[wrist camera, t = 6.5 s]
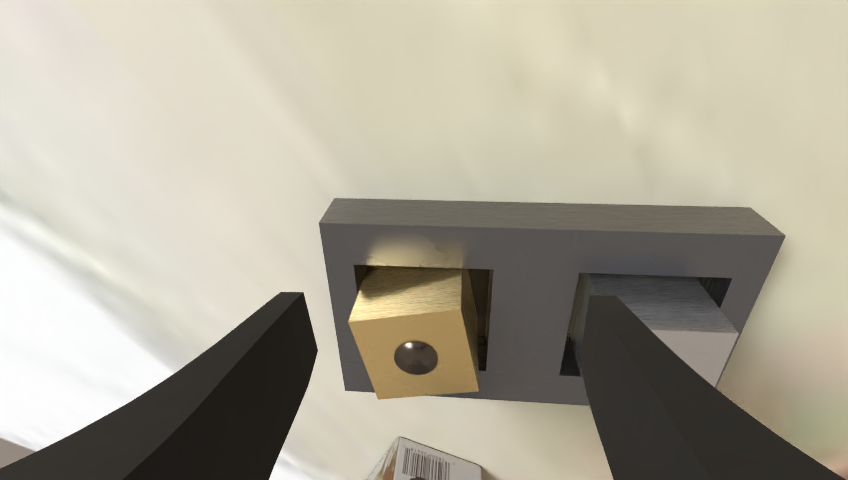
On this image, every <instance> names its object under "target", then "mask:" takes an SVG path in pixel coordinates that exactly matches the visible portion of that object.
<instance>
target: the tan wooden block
mask: <svg viewBox="0 0 848 480" xmlns="http://www.w3.org/2000/svg"><path fill="white" fill-rule="evenodd" d="M348 323H349V326H350V328H351V331H352V333H353V336H354V338H355V341H356V344H357V346H358V349H359V351H360V354H361V357H362V359H363V362H364V364H365V367H366V369H367V372H368V375H369V377H370V380H371V382H372V385H373V387H374V390H375V393H376V395H377V398H378V399H389V398H402V397H414V396H427V395H440V394H452V393H465V392H478V391H479V369H478V329H477V313H476V308H475V303H474V298H473V293H472V288H471V283H470V278H469V273H468V269H464V268H436V267H408V266H380V265H368V268H367V270H366V273H365V276H364V279H363V282H362V284H361V287H360V290H359V293H358V296H357V298H356V301H355V304H354V307H353V310H352V312H351V315H350V318H349V321H348Z"/></svg>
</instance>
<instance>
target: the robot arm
mask: <svg viewBox="0 0 848 480" xmlns="http://www.w3.org/2000/svg"><path fill="white" fill-rule="evenodd" d="M317 351H318V349H317V345H316V341H315V337H314V333H313V329H312V325H311V321H310V317H309V313H308V309H307V305H306V301H305V297H304V293H303V292H281V293H279V294H278V295H276V296H275V297H274V298H272V299H271V300H270V301H269V302H267V303H266V304H265V305H264V306H262V307H261V308H260V309H259V310H257V311H256V312H255V313H254V314H252V315H251V316H250V317H249V318H247V319H246V320H245V321H244V322H242V323H241V324H240V325H239V326H237V327H236V328H235V329H234V330H232V331H231V332H230V333H229V334H227V335H226V336H225V337H224V338H222V339H221V340H220V341H218V342H217V343H216V344H215V345H213V346H212V347H210V348H209V349H208V350H206V351H205V352H204V353H202V354H201V355H200V356H198V357H197V358H195V359H194V360H193V361H191V362H190V363H189V364H187V365H186V366H184V367H183V368H182V369H180V370H179V371H178V372H176V373H175V374H173V375H172V376H170V377H169V378H167V379H166V380H164V381H163V382H161V383H160V384H158V385H157V386H155V387H153V388H152V389H150V390H149V391H147V392H145V393H144V394H142V395H141V396H139V397H137V398H136V399H134V400H133V401H131V402H129V403H127V404H126V405H124V406H122V407H121V408H119V409H117V410H115V411H113V412H112V413H110V414H108V415H106V416H104V417H103V418H101V419H99V420H97V421H95V422H94V423H92V424H90V425H88V426H86V427H85V428H83V429H81V430H79V431H77V432H75V433H73V434H71V435H69V436H68V437H66V438H64V439H62V440H60V441H58V442H56V443H54V444H52V445H50V446H48V447H46V448H43V449H41V450H39V451H37V452H35V453H33V454H31V455H29V456H27V457H25V458H23V459H20V460H18V461H16V462H14V463H12V464H10V465H7V466H5V467H3V468H1V469H0V480H269V478H270V475H271V472H272V470H273V467H274V465H275V463H276V460H277V458H278V456H279V453H280V451H281V449H282V446H283V444H284V442H285V439H286V437H287V435H288V432H289V430H290V428H291V425H292V423H293V421H294V418H295V416H296V414H297V411H298V409H299V406H300V404H301V402H302V399H303V397H304V394H305V392H306V390H307V387H308V384H309V381H310V377H311V374H312V370H313V367H314V363H315V359H316V355H317ZM580 362H581V368H582V374H583V379H584V384H585V389H586V394H587V398H588V401H589V404H590V408H591V411H592V414H593V417H594V420H595V423H596V426H597V430H598V433H599V436H600V439H601V442H602V445H603V448H604V451H605V454H606V457H607V460H608V463H609V466H610V470H611V473H612V476H613V479H614V480H845V479H844V478H842V477H841V476H839V475H837V474H836V473H834V472H833V471H831V470H829V469H828V468H826V467H825V466H823V465H822V464H820V463H819V462H817V461H816V460H814V459H813V458H811V457H810V456H808V455H806V454H805V453H803V452H802V451H800V450H799V449H797V448H796V447H794V446H793V445H791V444H790V443H788V442H787V441H785V440H784V439H783V438H781V437H780V436H778V435H777V434H775V433H774V432H772V431H771V430H770V429H768V428H767V427H766V426H764V425H763V424H761V423H760V422H759V421H757V420H756V419H755V418H753V417H752V416H751V415H749V414H748V413H747V412H745V411H744V410H742V409H741V408H740V407H738V406H737V405H736V404H735V403H733V402H732V401H731V400H729V399H728V398H727V397H726V396H724V395H723V394H722V393H721V392H719V391H718V390H717V389H716V388H715V387H713V386H712V385H711V384H710V383H709V382H707V381H706V380H705V379H704V378H703V377H701V376H700V375H699V374H698V373H697V372H695V371H694V370H693V369H692V368H691V367H690V366H689V365H688V364H686V363H685V362H684V361H683V360H682V359H681V358H680V357H679V356H678V355H676V354H675V353H674V352H673V351H672V350H671V349H670V348H669V347H668V346H667V345H666V344H665V343H664V342H662V341H661V340H660V339H659V338H658V337H657V336H656V335H655V334H654V333H653V332H652V331H651V330H650V329H649V328H648V327H647V326H646V325H645V324H644V323H643V322H642V321H641V320H640V319H639V318H638V317H637V316H636V315H635V314H634V313H633V312H632V311H631V310H630V309H629V308H628V307H627V306H626V305H625V304H624V303H623V302H622V301H621V300H620V299H619V298H618V297H617V296H603V295H590V296H589V302H588V308H587V315H586V321H585V327H584V333H583V339H582V345H581V351H580Z"/></svg>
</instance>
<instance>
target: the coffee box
mask: <svg viewBox="0 0 848 480" xmlns="http://www.w3.org/2000/svg"><path fill="white" fill-rule="evenodd" d="M367 480H482V475H481V467H480V466H479V465H476V464H474V463H471V462H468V461H465V460H463V459H460V458H457V457H454V456H452V455H449V454H446V453H443V452H440V451H438V450H435V449H432V448H429V447H427V446H424V445H421V444H418V443H415V442H413V441H410V440H407V439H405V438H402V437H399V438H397V439H396V441H395V442H394V443H393V445H392V446H391V447H390V449H389V450H388V451H387V453H386V454H385V456H384V457H383V458H382V460H381V461H380V463H379V464H378V465H377V467H376V468H375V469H374V471H373V472H372V474H371V475H370V476H369V478H368V479H367Z"/></svg>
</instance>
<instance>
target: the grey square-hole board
mask: <svg viewBox="0 0 848 480" xmlns="http://www.w3.org/2000/svg"><path fill="white" fill-rule="evenodd" d="M319 226H320V233H321V239H322V246H323V252H324V258H325V265H326V271H327V277H328V284H329V290H330V297H331V303H332V309H333V316H334V322H335V329H336V335H337V341H338V348H339V354H340V360H341V367H342V373H343V380H344V386H345V391H359V392H375V390H374V387H373V385H372V382H371V380H370V377H369V375H368V372H367V369H366V367H365V364H364V362H363V359H362V357H361V354H360V351H359V349H358V346H357V344H356V341H355V338H354V336H353V333H352V331H351V328H350V326H349V323H348V321H349V318H350V315H351V312H352V310H353V307H354V304H355V301H356V298H357V296H358V293H359V290H360V287H361V284H362V282H363V279H364V276H365V273H366V270H367V268H368V265H380V266H408V267H436V268H464V269H489V281H488V295H487V310H486V324H485V337H478V369H479V391H478V392H465V393H452V394H440V395H427V396H441V397H457V398H473V399H490V400H506V401H522V402H539V403H555V404H571V405H588V406H589V404H588V400H587V397H586V393H585V389H584V386H583V382H582V379H581V375H580V372H579V368H578V365H577V361H576V357H575V354H574V350H573V347H572V343H571V342H570V341H566V338H567V332H568V327H569V322H570V317H571V312H572V307H573V302H574V297H575V291H576V286H577V281H578V276H579V273H604V274H632V275H660V276H688V277H696V279H697V280H698V281H699V283H700V284H701V285H702V286H703V288H704V289H705V290H706V292H707V293H708V294H709V296H710V297H711V298H712V299H713V301H714V302H715V303H716V305H717V306H718V307H719V309H720V310H721V311H722V312H723V314H724V315H725V316H726V318H727V319H728V320H729V322H730V323H731V324H732V325H733V327H734V328H735V329H736V331H737V332H738V333H739V334H738V337H737V339H736V341H735V343H734V345H733V348H732V350H731V352H730V354H729V357H728V359H727V361H726V363H725V366H724V368H723V370H722V372H721V375H720V377H719V379H718V381H717V383H716V386H717V384H718V382H719V380H720V378H721V376H722V373H723V371H724V369H725V367H726V365H727V362H728V360H729V358H730V356H731V354H732V352H733V349H734V347H735V345H736V343H737V341H738V338H739V336H740V334H741V332H742V330H743V328H744V325H745V323H746V321H747V319H748V317H749V314H750V312H751V310H752V308H753V306H754V304H755V301H756V299H757V297H758V295H759V293H760V290H761V288H762V286H763V284H764V282H765V280H766V277H767V275H768V273H769V271H770V269H771V266H772V264H773V262H774V260H775V258H776V256H777V253H778V251H779V249H780V247H781V245H782V243H783V240H784V238H785V235H784V234H783V233H782V232H780V231H779V230H778V229H777V228H775V227H774V226H773V225H772V224H770V223H769V222H768V221H766V220H765V219H764V218H763V217H761V216H760V215H759V214H758V213H756V212H755V211H754V210H753V209H751V208H742V207H697V206H653V205H608V204H564V203H519V202H474V201H430V200H385V199H341V198H334V200H333V201H332V203H331V205H330V206H329V208H328V209H327V211H326V213H325V214H324V216H323V217H322V219H321V220H320V222H319ZM716 386H715V388H716Z"/></svg>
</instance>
